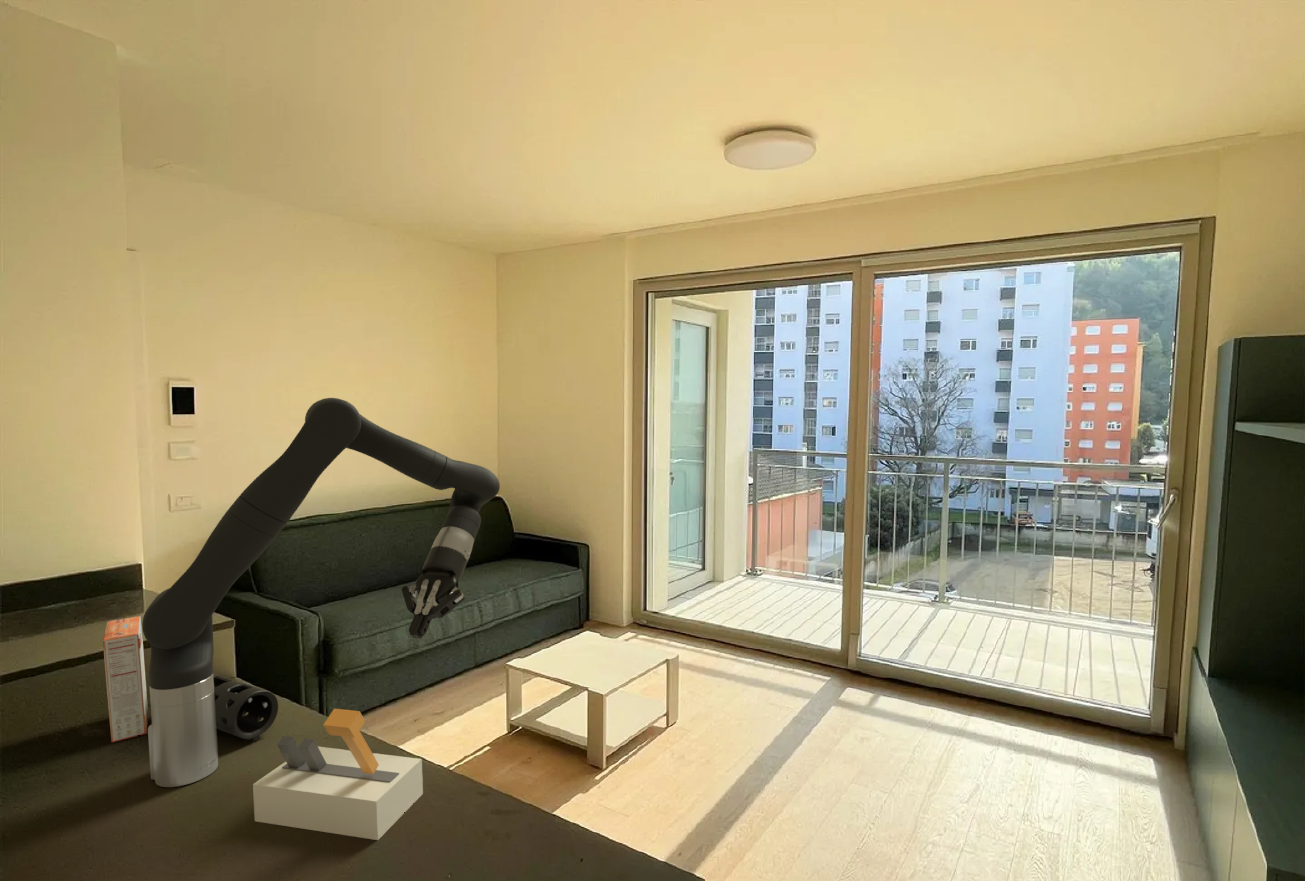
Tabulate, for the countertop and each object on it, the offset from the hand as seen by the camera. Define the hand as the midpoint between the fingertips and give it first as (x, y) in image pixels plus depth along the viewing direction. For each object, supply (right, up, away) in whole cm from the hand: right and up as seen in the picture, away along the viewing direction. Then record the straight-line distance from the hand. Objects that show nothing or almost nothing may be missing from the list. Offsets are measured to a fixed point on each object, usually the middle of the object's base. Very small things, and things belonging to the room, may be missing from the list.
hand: (415, 636), depth 120 cm
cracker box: (-64, -23, +16) cm, 70 cm away
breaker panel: (-7, -24, -13) cm, 28 cm away
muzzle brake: (-46, -23, +15) cm, 54 cm away
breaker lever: (-2, -17, -15) cm, 22 cm away
